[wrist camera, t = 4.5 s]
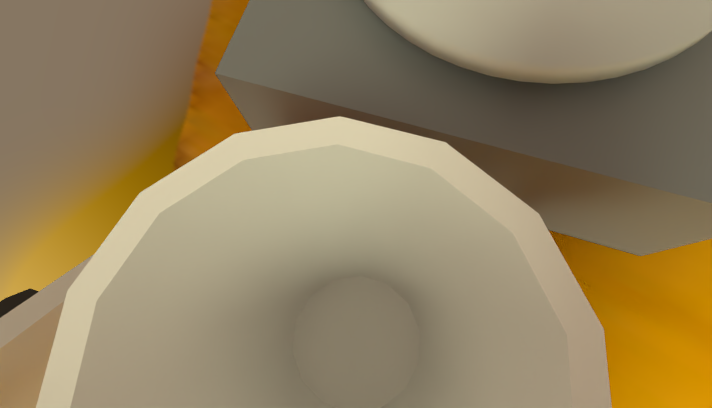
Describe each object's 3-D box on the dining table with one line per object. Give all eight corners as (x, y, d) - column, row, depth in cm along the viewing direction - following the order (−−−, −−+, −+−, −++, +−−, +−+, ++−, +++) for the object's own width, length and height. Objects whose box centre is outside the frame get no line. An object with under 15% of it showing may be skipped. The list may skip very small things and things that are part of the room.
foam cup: (327, 498, 17) (193, 969, 5) (224, 316, 20) (-42, 305, 7) (498, 366, 18) (755, 460, 6) (381, 208, 21) (386, 39, 8)
